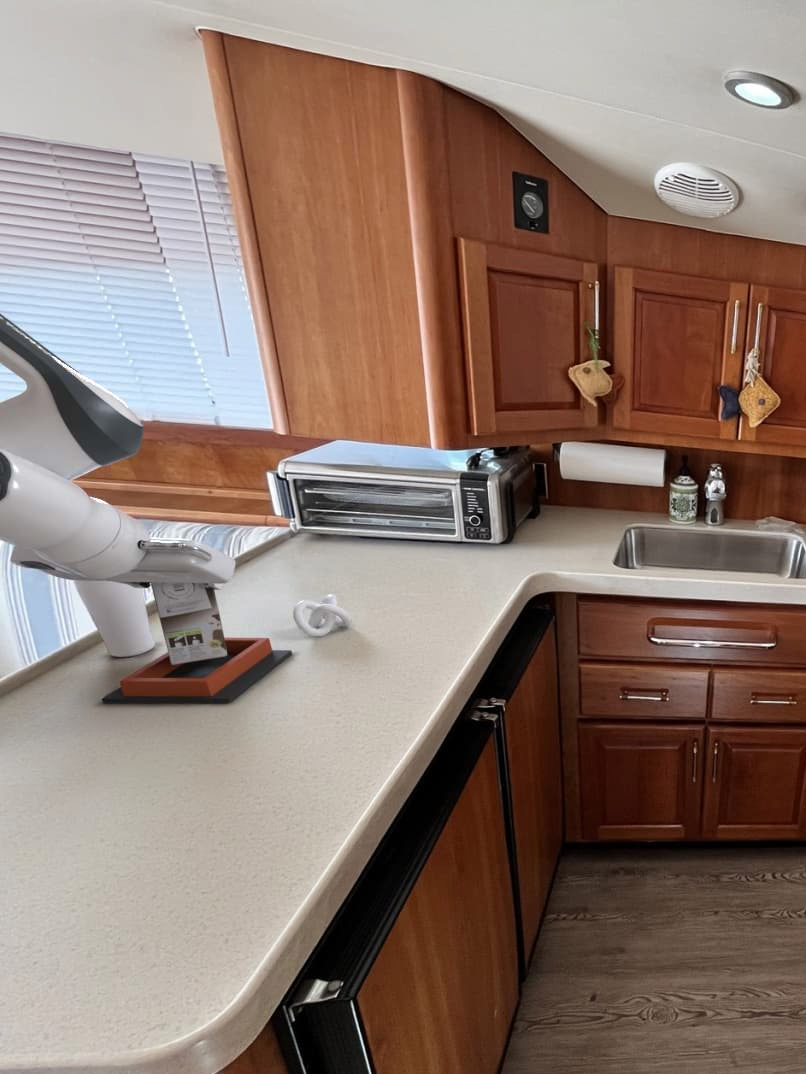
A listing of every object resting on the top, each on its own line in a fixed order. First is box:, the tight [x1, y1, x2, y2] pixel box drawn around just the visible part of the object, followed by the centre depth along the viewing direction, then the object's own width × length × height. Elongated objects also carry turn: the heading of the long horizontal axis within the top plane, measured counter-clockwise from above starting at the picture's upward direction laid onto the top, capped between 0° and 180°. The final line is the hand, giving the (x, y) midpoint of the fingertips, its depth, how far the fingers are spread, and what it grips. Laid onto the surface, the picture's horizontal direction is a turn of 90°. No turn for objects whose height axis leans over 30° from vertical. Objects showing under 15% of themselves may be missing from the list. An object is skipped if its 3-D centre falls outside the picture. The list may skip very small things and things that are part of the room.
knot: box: [292, 593, 353, 638], centre depth 113 cm, size 8×8×6 cm
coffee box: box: [150, 582, 227, 665], centre depth 94 cm, size 9×6×16 cm
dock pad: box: [100, 637, 293, 704], centre depth 96 cm, size 16×15×3 cm
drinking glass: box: [72, 580, 156, 658], centre depth 99 cm, size 7×7×15 cm
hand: (182, 584), depth 92 cm, fingers closed on coffee box, 8 cm apart
